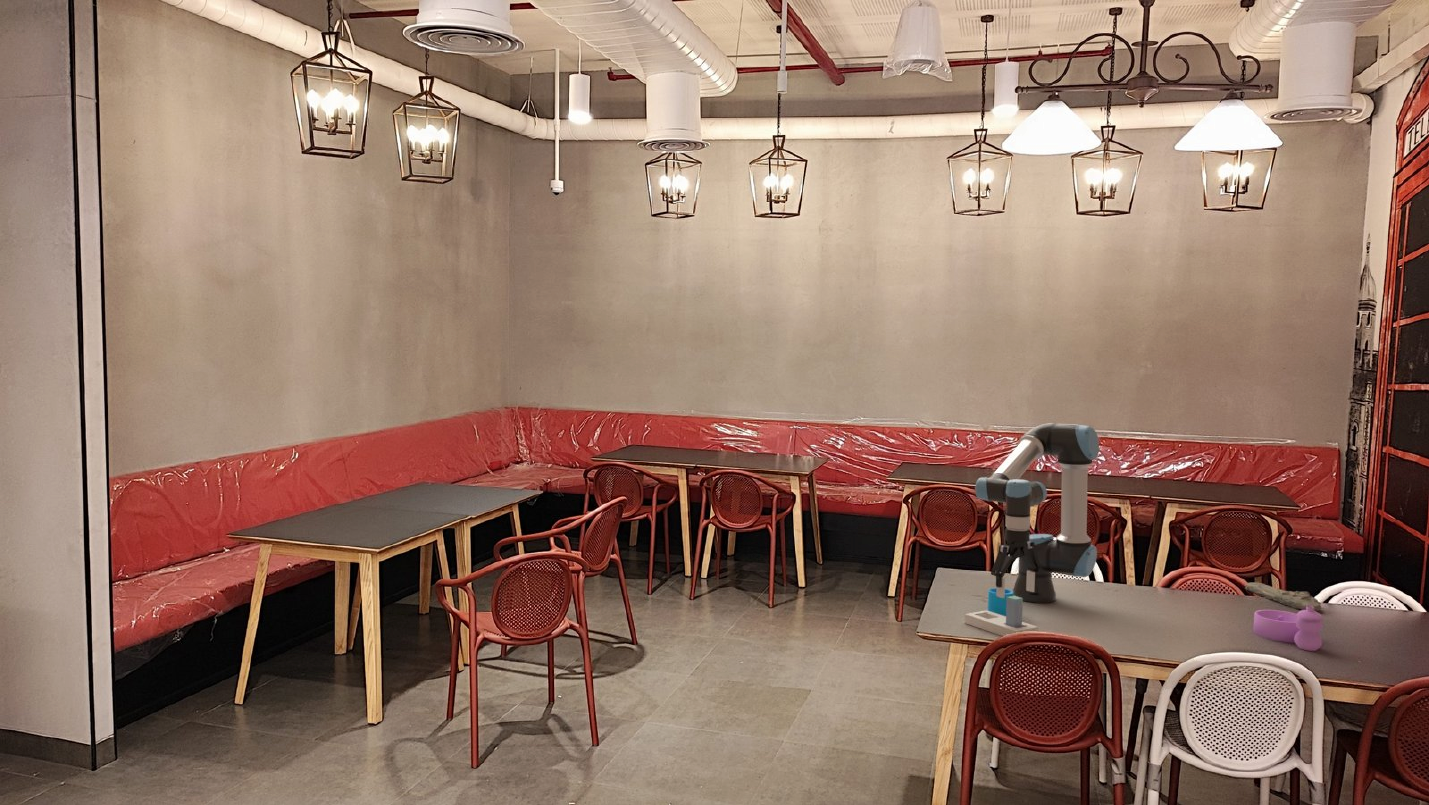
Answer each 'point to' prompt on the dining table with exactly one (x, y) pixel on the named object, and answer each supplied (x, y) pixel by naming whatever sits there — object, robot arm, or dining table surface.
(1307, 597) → the long grey stone
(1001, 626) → the port panel
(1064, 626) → the dining table surface
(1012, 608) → the plug
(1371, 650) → the dining table surface
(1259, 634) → the container set
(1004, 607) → the mug
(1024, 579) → the robot arm
